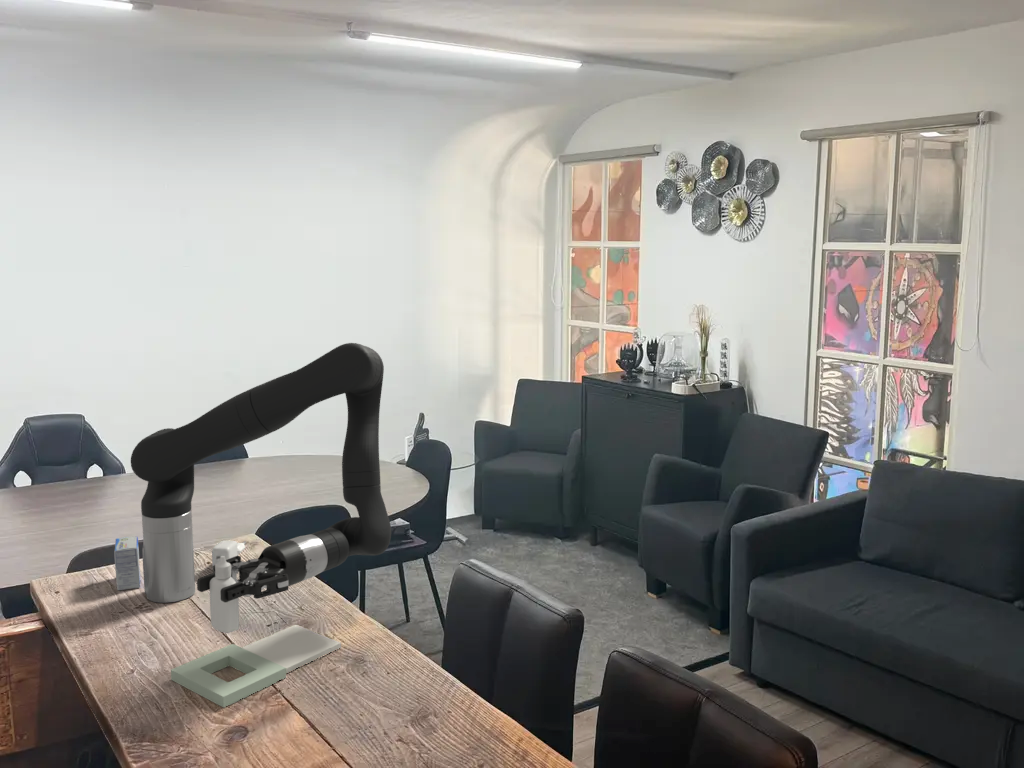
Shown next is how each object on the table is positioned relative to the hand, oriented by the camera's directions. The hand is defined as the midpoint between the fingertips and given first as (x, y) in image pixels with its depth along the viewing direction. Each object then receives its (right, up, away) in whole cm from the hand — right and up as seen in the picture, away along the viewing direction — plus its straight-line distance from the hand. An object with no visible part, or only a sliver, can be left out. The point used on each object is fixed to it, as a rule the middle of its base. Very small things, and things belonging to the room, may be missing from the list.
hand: (210, 590), depth 146 cm
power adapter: (-13, -7, +54) cm, 56 cm away
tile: (+9, -14, +15) cm, 22 cm away
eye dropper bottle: (+1, -7, +3) cm, 8 cm away
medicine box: (-31, -8, +44) cm, 54 cm away
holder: (+1, -15, +5) cm, 16 cm away
